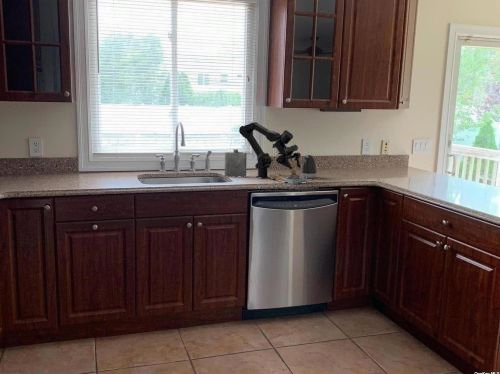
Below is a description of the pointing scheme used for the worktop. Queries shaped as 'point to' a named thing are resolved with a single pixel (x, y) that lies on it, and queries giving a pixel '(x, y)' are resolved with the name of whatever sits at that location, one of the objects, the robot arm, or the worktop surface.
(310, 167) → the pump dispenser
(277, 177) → the slot board
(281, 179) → the tray
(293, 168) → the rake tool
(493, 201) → the worktop surface
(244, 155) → the flask
